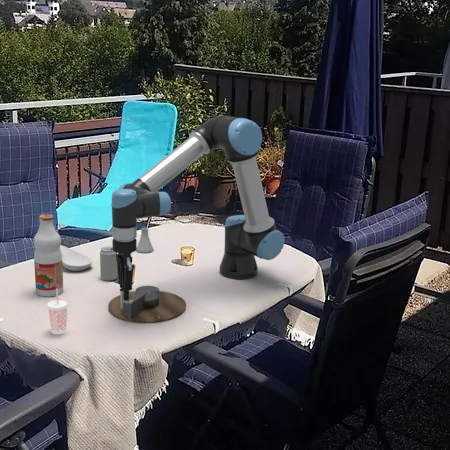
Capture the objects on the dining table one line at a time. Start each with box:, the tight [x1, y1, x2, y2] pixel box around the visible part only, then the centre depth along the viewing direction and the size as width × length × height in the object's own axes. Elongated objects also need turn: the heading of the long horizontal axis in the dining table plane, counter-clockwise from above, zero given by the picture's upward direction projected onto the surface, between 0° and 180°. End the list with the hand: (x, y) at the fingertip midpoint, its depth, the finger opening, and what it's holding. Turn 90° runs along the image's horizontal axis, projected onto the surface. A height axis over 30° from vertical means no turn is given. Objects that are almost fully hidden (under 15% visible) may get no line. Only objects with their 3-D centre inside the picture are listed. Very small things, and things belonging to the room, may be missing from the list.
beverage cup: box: [46, 288, 69, 335], centre depth 192 cm, size 6×6×14 cm
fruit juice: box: [33, 213, 64, 297], centre depth 220 cm, size 9×9×28 cm
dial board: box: [107, 290, 187, 324], centre depth 213 cm, size 26×26×1 cm
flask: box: [135, 227, 154, 254], centre depth 271 cm, size 7×7×10 cm
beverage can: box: [99, 246, 118, 282], centre depth 236 cm, size 6×6×12 cm
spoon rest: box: [60, 244, 93, 272], centre depth 250 cm, size 24×12×7 cm, turn 54°
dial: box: [124, 285, 160, 318], centre depth 208 cm, size 17×8×6 cm, turn 157°
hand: (125, 307), depth 205 cm, fingers closed
